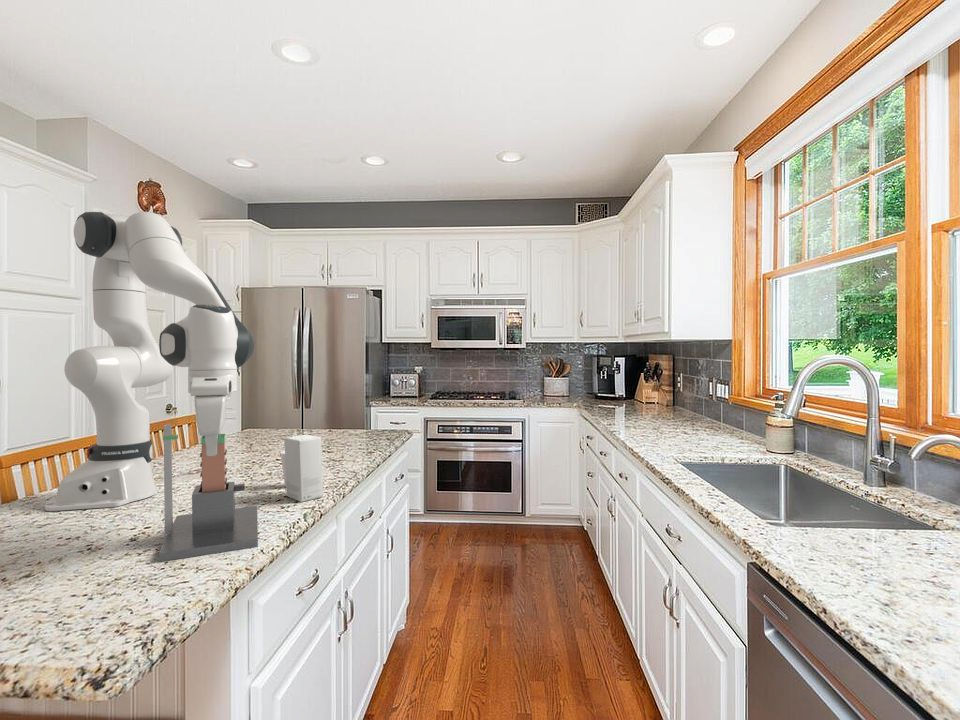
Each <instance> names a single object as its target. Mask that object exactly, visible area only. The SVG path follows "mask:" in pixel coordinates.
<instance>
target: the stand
mask: <svg viewBox="0 0 960 720" xmlns="http://www.w3.org/2000/svg"><path fill="white" fill-rule="evenodd" d="M172 427H173V425H172V424H164V425H163V428H162V429H163V436H162V441H163V489H164V490H163V491H164V492H163V494H164V499H163V501H164V502H163V503H164V535H167V536H166V538H165V541H164V542H163V545H162V546H161V548H160V550H159V552H158V563H161V561H163V562H168V560H169V561H174V559H175V560H181V559H180V558H182V559H187V557H188V558H193V557H200V555H201V556H206V554H207V555H213V554H212V553H214V554H218V553H217V552H220V553H224V552H223V551H226V552H230V551H229V550H233V551H237V549H239V550H244V549H243V548H245V549H250V547H252V548H257V547H259V535H258V530H259V529H258V528H259V527H258V505H252V506H245V507H244V506H243V507H237V508H236V505H235V504H236V502H235V501H236V499H235V497H236V495H235V494H236V493H235V492H241V491H243V492H244V491H245V486H246V485H245V483H239V484H237V483H236V484H235V481H227V484H226V490H220V491H210V492H202V487H200V485H199V484H196V485H195V487H194V489H193V491H192V494H191V513H188V514H182V515H181V514H179V515H176V517H175V519H174V518H173V516H174V515H173V512H174V511H173V508H174V507H173V503H174V502H173V500H174V499H173V449H172V448H173V440H178V439H179V435H178V434H173V430H172V429H173V428H172Z"/></svg>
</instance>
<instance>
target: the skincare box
mask: <svg viewBox="0 0 960 720" xmlns="http://www.w3.org/2000/svg"><path fill="white" fill-rule="evenodd" d="M293 436H294V437H292V436H290V437H284V451H285V465H286V487H285V489H286V497H287V496H288V498H290V499H292V498H293V500H295V501H298V502H300V503H302V502H308V501H311V500H315V499H320V498H322V497H324V477H323V476H324V475H323V474H324V473H323V472H324V471H323V450H322V449H323V448H322V437H320V436H315V435H312V434H311V435H309V434H301V435H293Z"/></svg>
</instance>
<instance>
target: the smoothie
mask: <svg viewBox="0 0 960 720" xmlns="http://www.w3.org/2000/svg"><path fill="white" fill-rule="evenodd" d="M294 436H295V435H291V437H294ZM279 457H280V460H281V467H282V473H283V481H284V487H285V488H286V465H285V450H282V451H280V452H279Z"/></svg>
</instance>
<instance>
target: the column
mask: <svg viewBox="0 0 960 720" xmlns="http://www.w3.org/2000/svg"><path fill="white" fill-rule="evenodd" d="M226 435H227V434H226V433H221V434H219V435H218V439H217V455H215V456H207V454H206V443H205V436H201V438H200V440H201V441H200V442H201V443H200V444H201V452H200V454H199V457H200V458H201V462H200V465H199V466H200V468H201V472H200V474H199V475H200V477H201V481H200V487H202V492H210V491H220V490H226V484H227V482H228V477H227V472H228V468H227V467H226V465H227V464H228V458H227V457H226V455H227V453H228V449H227V448H226V440H227V439H226Z"/></svg>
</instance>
